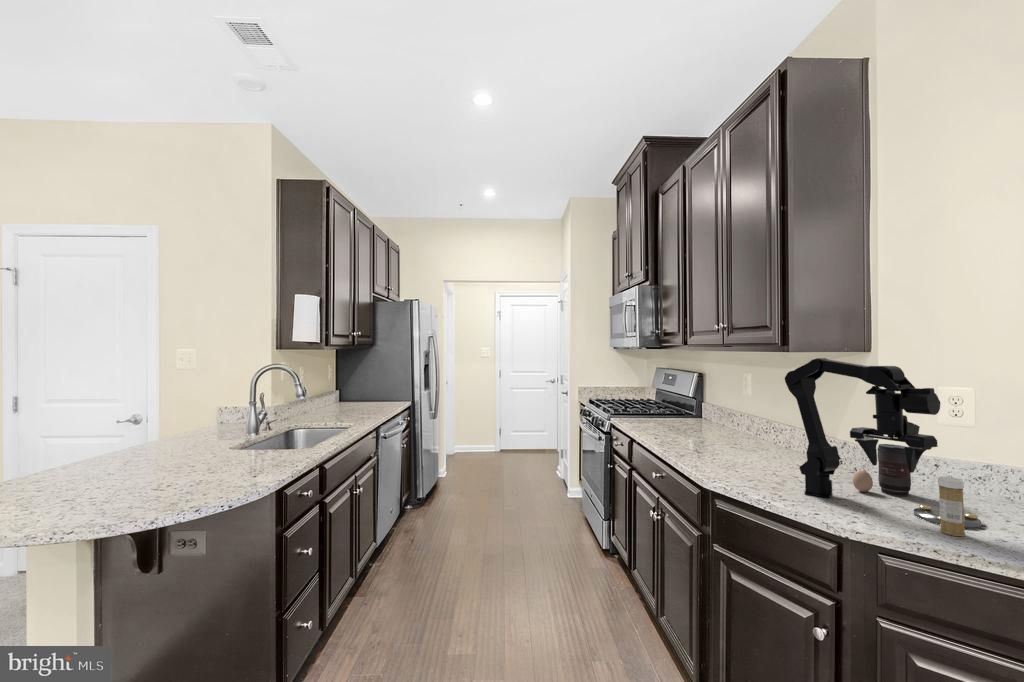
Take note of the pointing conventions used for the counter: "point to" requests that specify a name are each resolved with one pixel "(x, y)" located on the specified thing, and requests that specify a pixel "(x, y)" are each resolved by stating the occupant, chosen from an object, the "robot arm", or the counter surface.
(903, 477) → the camera lens
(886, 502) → the counter surface
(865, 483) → the egg
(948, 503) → the sprinkles bottle
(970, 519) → the tribrach plate
